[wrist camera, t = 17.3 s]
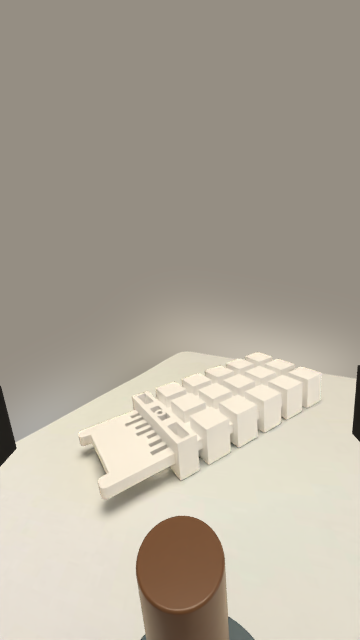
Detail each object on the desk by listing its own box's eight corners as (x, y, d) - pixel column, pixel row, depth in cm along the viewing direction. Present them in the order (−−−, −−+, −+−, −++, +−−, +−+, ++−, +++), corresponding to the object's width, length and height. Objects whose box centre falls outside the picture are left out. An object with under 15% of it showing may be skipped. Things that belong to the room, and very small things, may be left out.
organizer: (321, 373, 42) (101, 481, 25) (320, 400, 43) (108, 522, 26) (257, 351, 53) (73, 416, 36) (258, 374, 54) (79, 447, 37)
